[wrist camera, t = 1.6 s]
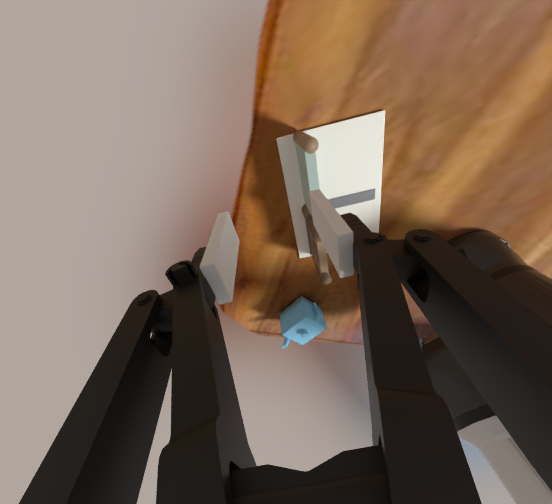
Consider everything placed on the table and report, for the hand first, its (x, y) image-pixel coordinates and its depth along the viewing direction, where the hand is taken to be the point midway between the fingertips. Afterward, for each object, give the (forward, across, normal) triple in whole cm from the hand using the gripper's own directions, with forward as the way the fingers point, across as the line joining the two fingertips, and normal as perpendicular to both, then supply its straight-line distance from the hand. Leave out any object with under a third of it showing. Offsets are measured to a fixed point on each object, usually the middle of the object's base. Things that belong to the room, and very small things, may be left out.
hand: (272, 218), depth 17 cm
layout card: (+19, -10, +8) cm, 23 cm away
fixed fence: (+18, -5, +13) cm, 23 cm away
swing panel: (+18, -5, +2) cm, 19 cm away
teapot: (+19, 0, +32) cm, 38 cm away
